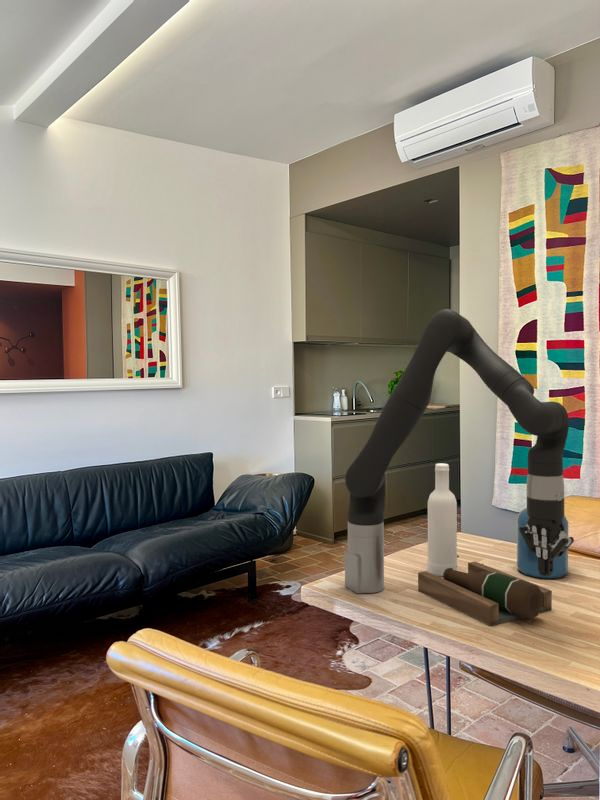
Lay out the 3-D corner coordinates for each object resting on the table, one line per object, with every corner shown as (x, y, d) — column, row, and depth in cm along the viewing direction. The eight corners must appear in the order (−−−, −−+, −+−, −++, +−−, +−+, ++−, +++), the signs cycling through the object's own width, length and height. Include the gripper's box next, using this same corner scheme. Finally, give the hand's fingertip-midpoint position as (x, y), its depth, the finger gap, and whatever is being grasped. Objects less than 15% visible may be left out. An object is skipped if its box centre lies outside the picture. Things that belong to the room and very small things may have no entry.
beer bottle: (528, 581, 133) (441, 556, 152) (520, 617, 131) (433, 587, 150) (546, 587, 137) (459, 562, 156) (539, 622, 136) (452, 592, 155)
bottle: (460, 576, 165) (460, 466, 164) (430, 576, 165) (430, 466, 164) (453, 567, 173) (453, 461, 171) (425, 567, 173) (425, 462, 172)
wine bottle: (564, 583, 159) (564, 468, 158) (511, 575, 166) (511, 465, 165) (571, 568, 171) (572, 461, 169) (522, 561, 178) (522, 458, 176)
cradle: (490, 626, 133) (490, 605, 133) (418, 590, 155) (418, 572, 155) (551, 609, 142) (551, 590, 141) (475, 577, 164) (475, 561, 164)
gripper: (508, 492, 135) (509, 569, 136) (559, 502, 123) (559, 587, 124) (532, 488, 139) (533, 563, 139) (583, 498, 127) (584, 580, 128)
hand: (545, 574), depth 132 cm, fingers closed
